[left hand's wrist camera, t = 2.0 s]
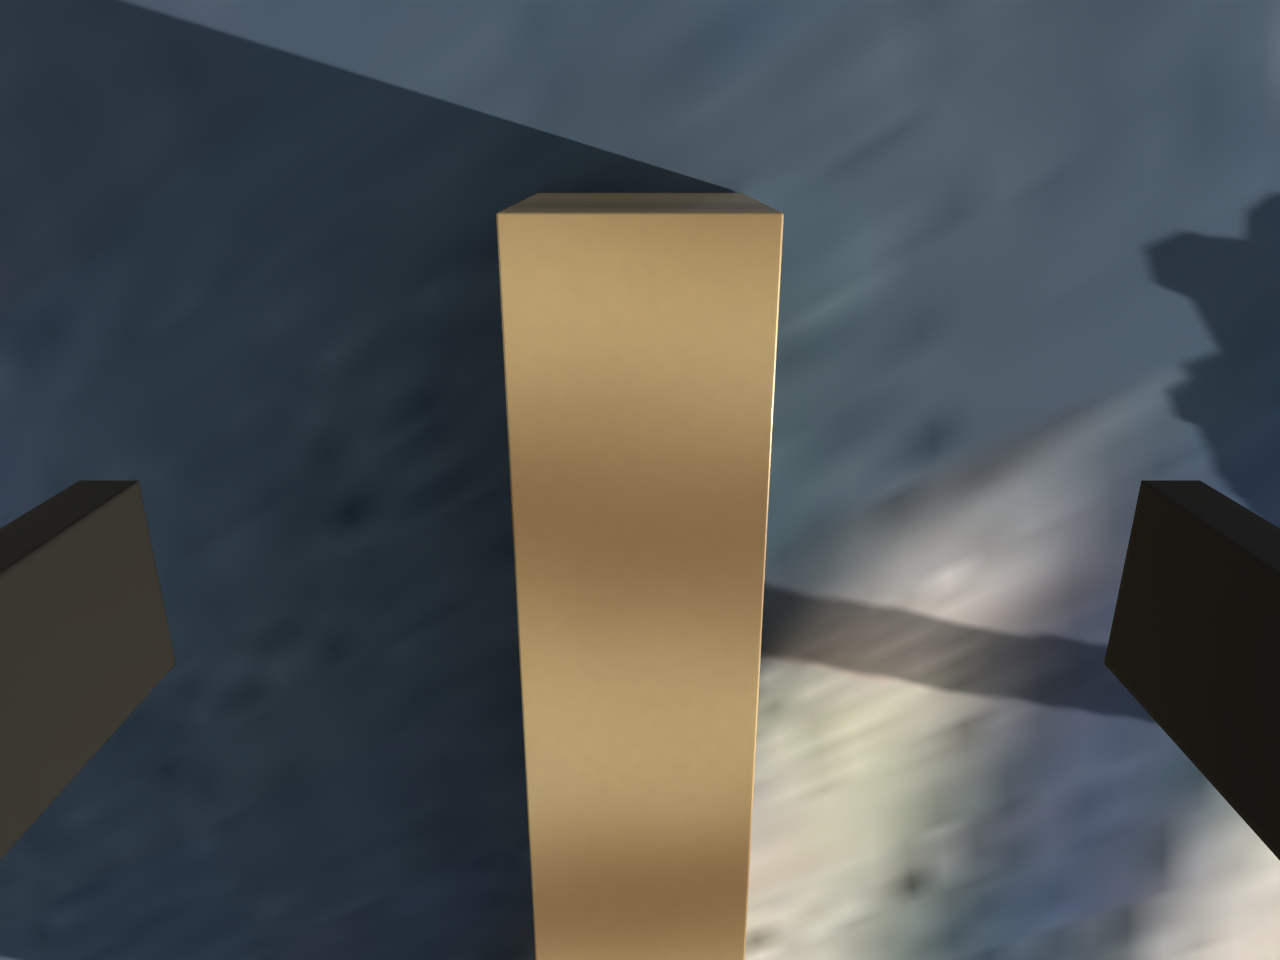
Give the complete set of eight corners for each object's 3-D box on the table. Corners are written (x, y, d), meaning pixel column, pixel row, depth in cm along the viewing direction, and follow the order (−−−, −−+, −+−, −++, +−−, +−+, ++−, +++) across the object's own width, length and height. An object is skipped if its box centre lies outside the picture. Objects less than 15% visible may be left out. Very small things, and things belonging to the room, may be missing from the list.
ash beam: (536, 192, 26) (495, 212, 19) (743, 193, 26) (784, 212, 19) (569, 1075, 39) (552, 1297, 31) (710, 1075, 39) (727, 1297, 31)
